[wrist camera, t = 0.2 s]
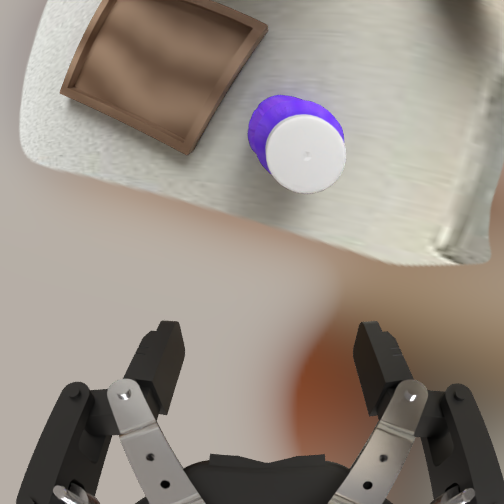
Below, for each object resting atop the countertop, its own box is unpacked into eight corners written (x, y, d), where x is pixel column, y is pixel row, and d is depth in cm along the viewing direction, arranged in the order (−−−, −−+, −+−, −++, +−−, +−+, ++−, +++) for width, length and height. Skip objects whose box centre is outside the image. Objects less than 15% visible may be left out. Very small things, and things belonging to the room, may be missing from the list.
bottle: (247, 135, 29) (219, 181, 14) (267, 88, 26) (261, 76, 11) (309, 160, 30) (345, 232, 15) (330, 115, 27) (395, 142, 12)
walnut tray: (127, -19, 19) (117, -25, 17) (268, 30, 23) (267, 25, 21) (71, 91, 26) (59, 93, 24) (193, 150, 30) (187, 155, 28)
